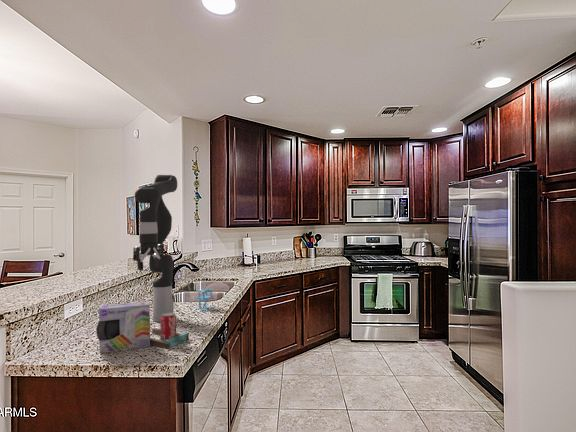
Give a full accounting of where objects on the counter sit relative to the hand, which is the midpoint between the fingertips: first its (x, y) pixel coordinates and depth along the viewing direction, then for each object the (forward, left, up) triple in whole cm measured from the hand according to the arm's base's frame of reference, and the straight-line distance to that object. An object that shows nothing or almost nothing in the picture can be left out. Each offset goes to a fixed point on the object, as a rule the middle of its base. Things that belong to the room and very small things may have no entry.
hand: (149, 268), depth 154 cm
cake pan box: (+15, +4, -30) cm, 34 cm away
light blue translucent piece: (-46, -10, -30) cm, 55 cm away
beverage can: (+3, +16, -30) cm, 34 cm away
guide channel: (+2, +10, -29) cm, 31 cm away
